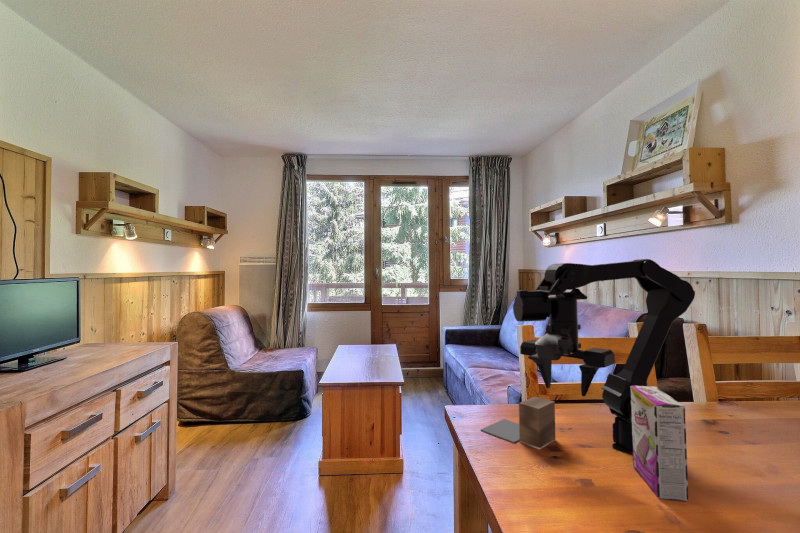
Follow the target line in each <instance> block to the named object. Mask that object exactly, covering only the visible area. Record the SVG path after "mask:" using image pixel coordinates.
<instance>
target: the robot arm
mask: <svg viewBox="0 0 800 533" xmlns="http://www.w3.org/2000/svg"><path fill="white" fill-rule="evenodd" d="M625 279H635V280H636V281H637V284H638V286H639V287H640V288H641V289H642V290H644V291H645V292H646V297H645V303H646V304H645V305H646V309H647V312H646V316H645V318H644V320H643V323H642V325H641V327H640V330H639V331H638V334H637V336H636V338H635V341H634V343H633V345H632V347H631V349H630V352H629V354H628V356H627V359H626V361H625V362H624V363H625V364H624V365H623V368H622V370H621V371H619V372H618V373H617V374H613V373H611V372H609V374H608V375H607V376H606V381H605V382H604V385H603V386H601V388H600V389H602V395H601V398H602V400H603V402H604V404H605V406H606V407H608V409H609V412H610V414H612V415H614V416H615V417H614V422H613V423H612V441H613V444H611V446H612V448H614V449H616V450H620V451H623V452H625V453H630V454H632V455H633V439H632V415H631V390H630V386H648V380H649V377H650V375H651V373H652V369H653V367H654V365H655V363H656V361H657V359H658V356H659V354H660V352H661V349H662V347H663V344H664V343H665V340H666V337H667V336H668V333H669V330H670V329H671V327H672V324H673V323H674V321H675V320H676V319H678V318H679V317H681V316H682V315H683V314H684V313H686V311H687V310H688V309H689V307H690V306H691V304H692V303H693V301H694V299H695V297H696V291H695V290H694V286H692V284H691V283H690V282H688V281H687V280H685V279H682V278H681V277H679V276H678V275H677V274H675V273H673V272H671V271H669V270H667V269H666V268H664V267H661V266H660V265H659V264H658V263H657V262H655V261H654V260H652V259H648V258H644V259H643V258H641V259H639V258H638V259H633V260H629V261H622V262H621V261H620V262H612V263H611V262H608V263H599V264H584V263H583V264H582V263H575V262H574V263H572V262H565V263H562V262H561V263H553V264H550V265H548V266H547V268H546V269H545V272H544V277H542V280H541V281H540V283H539V284H538V285H537V287H536V288H535V289H534V290H524V289H522V290H521V289H518V290H516V296H515V298H514V303H512V304H513V305H512V309H513V310H512V311H513V315H514V318H515V320H516V321H517V322H518V323H519V322H544V321H546V320H547V318H549V319H548V320H549V324H547V325H546V327H545V333H544V334H542V335H541V336H540V337H539V338H538V339H530V340H525V341H523V342H522V343H520V346H519V349H520V350H519V351H520V353H519V354H520V355H524V356H527V358H528V360H532V361H533V363H535V364H536V366H537V368H538V370H539V372H540V375H541V377H542V381H543V383H544V385H545V388H547V389H550V388H551V386H552V385H551V384H552V362H553V361H559V360H561V358H562V357H565V358H571V359H572V358H573V359H579V360H582V361H583V364H580V365H578V367H579V370H580V372H581V375H580V376H581V377H580V378H581V379H580V380H581V381H580V393H581V397H586V395H587V394H588V391H589V388H590V387H591V385H592V383H593V382H592V381H593V379H594V378H595V376H596V374H597V372H598V370H599V369H602V368H604V369H605V368H607V367H610V366H612V365H614V364H615V363H616V356H615V353H614V352H613V350H611V349H607V348H602V347H601V348H599V347H592V348H589V349H588V348H587V349H586V350H583V349H582V350H581V348H582V343H581V342H579V330H581V324H580V323H579V324H578V319H579V318H578V300H587V299H588V296H587V295H586V294H585V293H583V292H582V291H581V290H580V289H579V288H581V287H585V286H587V285H589V284H592V283H595V282H605V281H614V280H615V281H616V280H625Z"/></svg>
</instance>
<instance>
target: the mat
mask: <svg viewBox="0 0 800 533" xmlns="http://www.w3.org/2000/svg"><path fill="white" fill-rule="evenodd" d="M480 431H481V432H483V433H486V434H489V435H491V436H493V437H497V438H500V439H501V440H504V441H507V442H510V443H512V444H515V443H517V442H520V431H519V423H518V422H515V421H511V420H508V419H505V418H502V419H501V420H499V421H497V422H494V423H492V424H490V425H488V426H486V427H483V428H481V429H480Z"/></svg>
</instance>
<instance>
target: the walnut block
mask: <svg viewBox="0 0 800 533" xmlns="http://www.w3.org/2000/svg"><path fill="white" fill-rule="evenodd" d="M555 407H556V405H555V400H550V399H547V398H542V397H538V396H533V397H531V398H528V399H525V400H523V401H521V402H518V420H519V421H518V422H519V423H518V424H519V431H520V440H519V443H521V444H524V445H526V446H528V447H531V448H534V449H537V450H542V449H543V448H545V447H547V446H548V445H550V444H552V443H553V442H556V410H555V409H556V408H555Z"/></svg>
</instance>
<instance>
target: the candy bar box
mask: <svg viewBox="0 0 800 533" xmlns="http://www.w3.org/2000/svg"><path fill="white" fill-rule="evenodd" d="M630 390H631V415H632V439H633V454H632V461H633V462H632V465H633V468H634V470H635V471H636V472H637V473H638V474H639V476H640V477H641V478H642V479H643V481H644V482H645V483H646V485H648V488H650V489H651V491H652V492H653V494H654V495H656V497H657V498H658V499H659V500H663V501H678V502H689V478H688V477H689V474H688V452H687V451H688V450H687V449H688V448H687V427H686V426H687V425H686V424H687V423H686V405H684V404H682V403H681V402H680V401H678V400H676V399H675V398H673V397H672V396H670V395H669V394H667V392H664V391H663V390H662V389H660V388H659V387H658V386H650V385H647V386H630Z"/></svg>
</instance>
